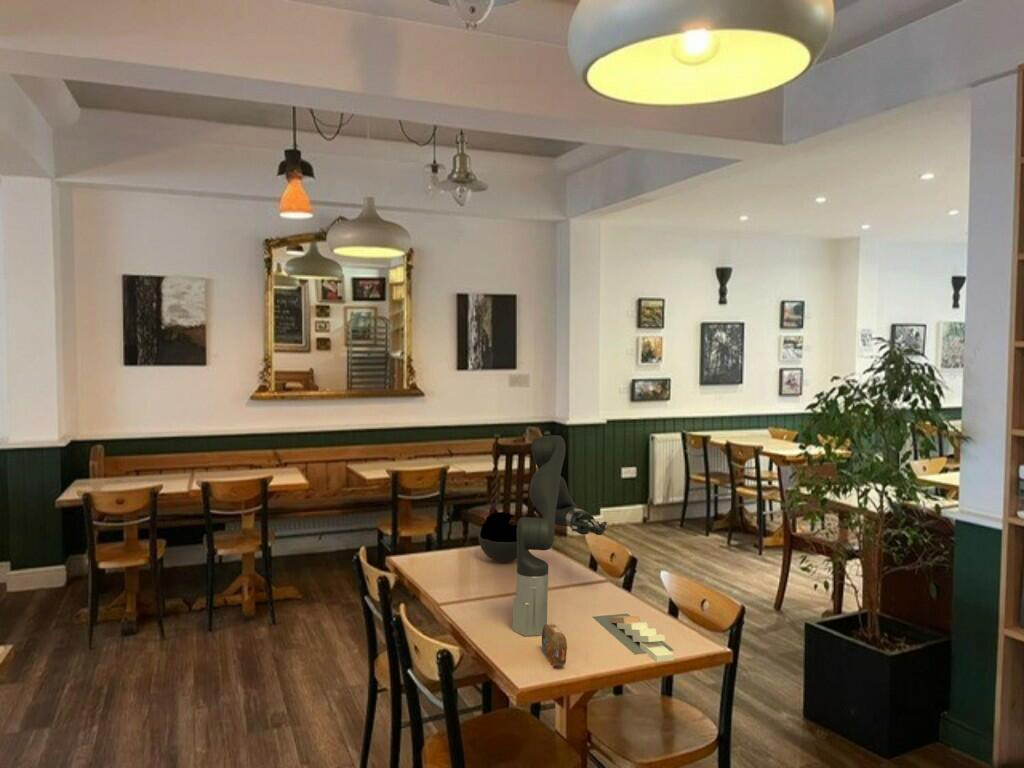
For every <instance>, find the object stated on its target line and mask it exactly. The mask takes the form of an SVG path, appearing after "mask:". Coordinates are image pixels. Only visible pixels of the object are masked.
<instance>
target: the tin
mask: <svg viewBox="0 0 1024 768" xmlns="http://www.w3.org/2000/svg"><path fill="white" fill-rule="evenodd" d="M541 648H542V652H543V653H542V654H544V656H545V658H546V659H547V660H548V661H549V663H550V665H551V666H552V667H554V668H555V667H564V665H565V664H566V661H567V651H568V643H567V639H566V636H565V634H564V633H563V632H562V631H561V629H560V628H559V627H558V626H557V625H556V624H551V623H550V624H549V623H547V624H545V625H544V627H543V631H542V634H541Z"/></svg>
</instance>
